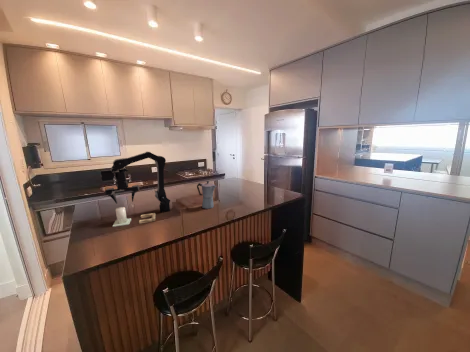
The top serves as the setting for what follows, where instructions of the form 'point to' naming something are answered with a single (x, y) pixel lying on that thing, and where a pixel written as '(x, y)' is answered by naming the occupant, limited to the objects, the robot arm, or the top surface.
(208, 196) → the moka pot
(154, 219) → the oak cradle
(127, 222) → the sage coaster
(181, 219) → the top surface
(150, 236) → the top surface
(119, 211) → the cream jug
